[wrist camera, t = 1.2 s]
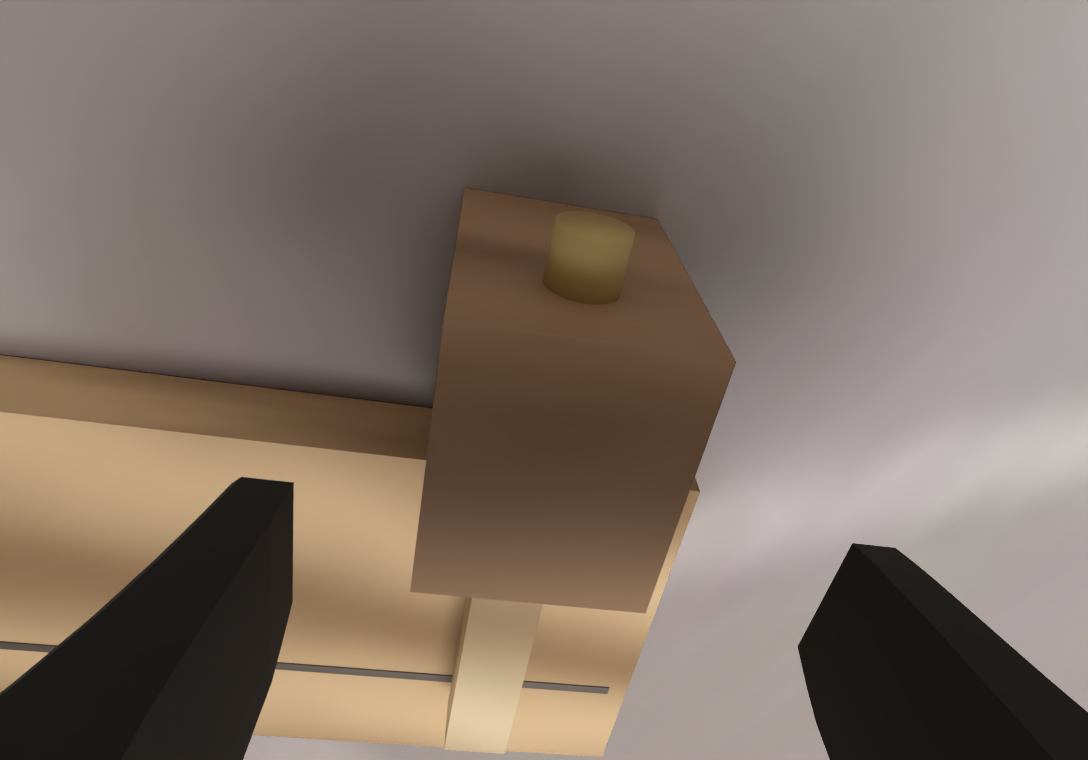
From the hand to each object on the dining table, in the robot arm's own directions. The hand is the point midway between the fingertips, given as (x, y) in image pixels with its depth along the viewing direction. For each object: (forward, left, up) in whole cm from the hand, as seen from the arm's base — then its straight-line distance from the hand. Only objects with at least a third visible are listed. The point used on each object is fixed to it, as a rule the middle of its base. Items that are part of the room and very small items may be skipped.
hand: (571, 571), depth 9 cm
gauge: (-3, 0, -8) cm, 9 cm away
